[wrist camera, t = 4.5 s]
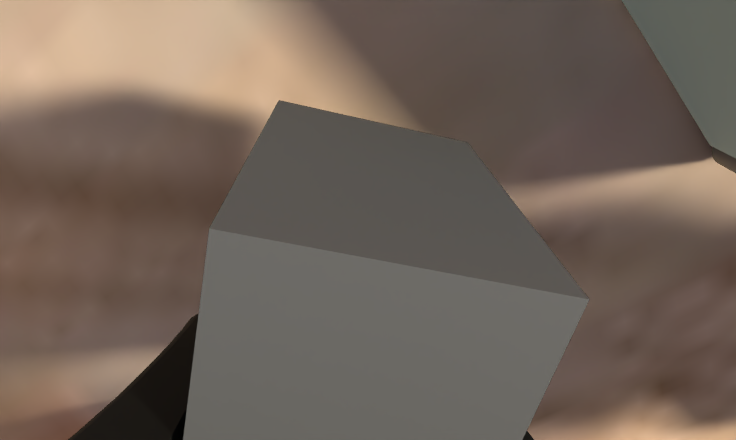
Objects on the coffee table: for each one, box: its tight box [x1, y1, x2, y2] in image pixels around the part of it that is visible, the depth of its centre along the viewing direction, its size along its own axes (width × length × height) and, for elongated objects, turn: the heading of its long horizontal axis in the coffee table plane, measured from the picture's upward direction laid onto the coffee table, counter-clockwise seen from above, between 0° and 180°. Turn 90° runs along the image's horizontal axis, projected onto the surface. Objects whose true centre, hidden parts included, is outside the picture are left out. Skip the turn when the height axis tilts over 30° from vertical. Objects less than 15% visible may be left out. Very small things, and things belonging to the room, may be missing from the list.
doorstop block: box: [183, 100, 590, 440], centre depth 10 cm, size 8×4×6 cm, turn 167°
